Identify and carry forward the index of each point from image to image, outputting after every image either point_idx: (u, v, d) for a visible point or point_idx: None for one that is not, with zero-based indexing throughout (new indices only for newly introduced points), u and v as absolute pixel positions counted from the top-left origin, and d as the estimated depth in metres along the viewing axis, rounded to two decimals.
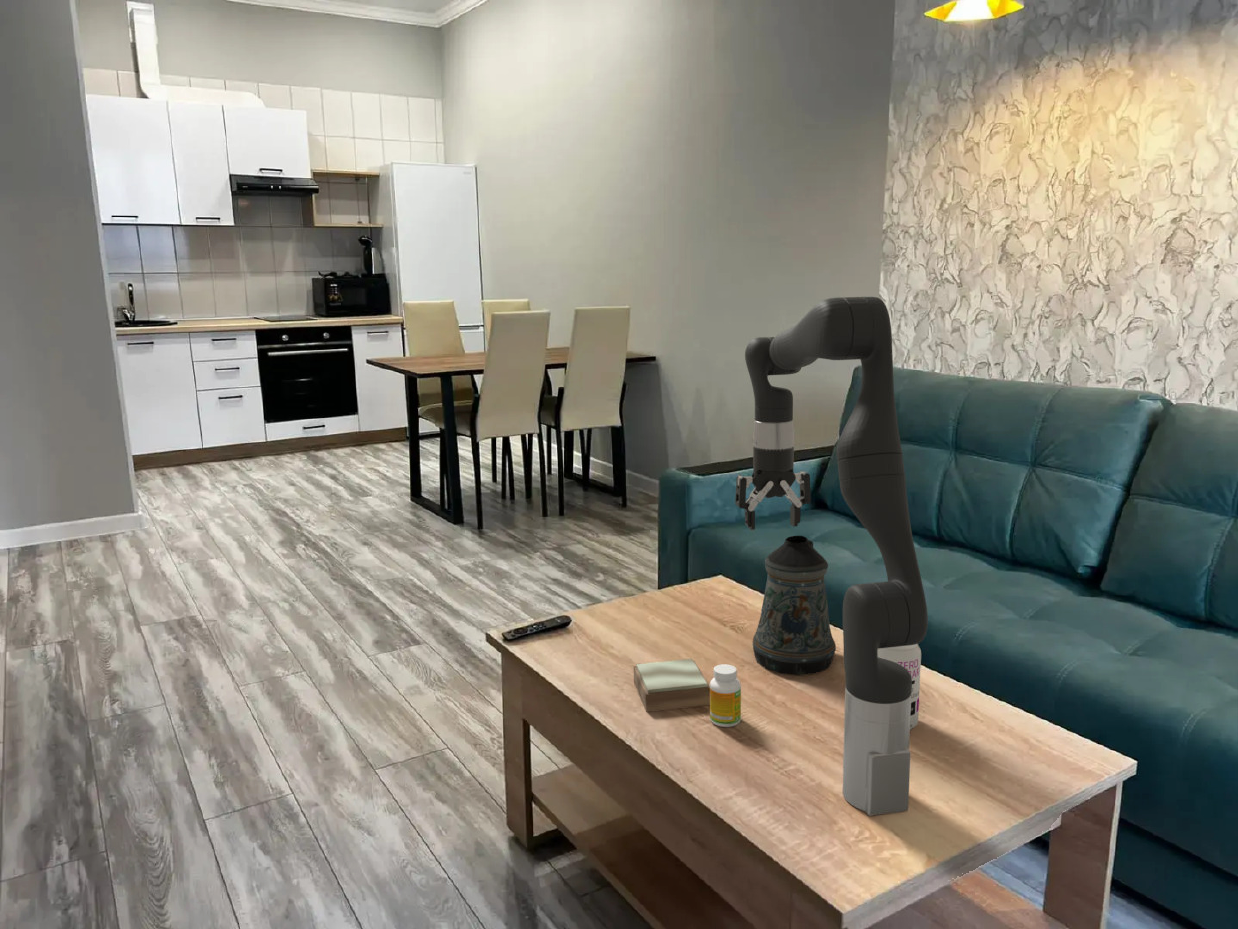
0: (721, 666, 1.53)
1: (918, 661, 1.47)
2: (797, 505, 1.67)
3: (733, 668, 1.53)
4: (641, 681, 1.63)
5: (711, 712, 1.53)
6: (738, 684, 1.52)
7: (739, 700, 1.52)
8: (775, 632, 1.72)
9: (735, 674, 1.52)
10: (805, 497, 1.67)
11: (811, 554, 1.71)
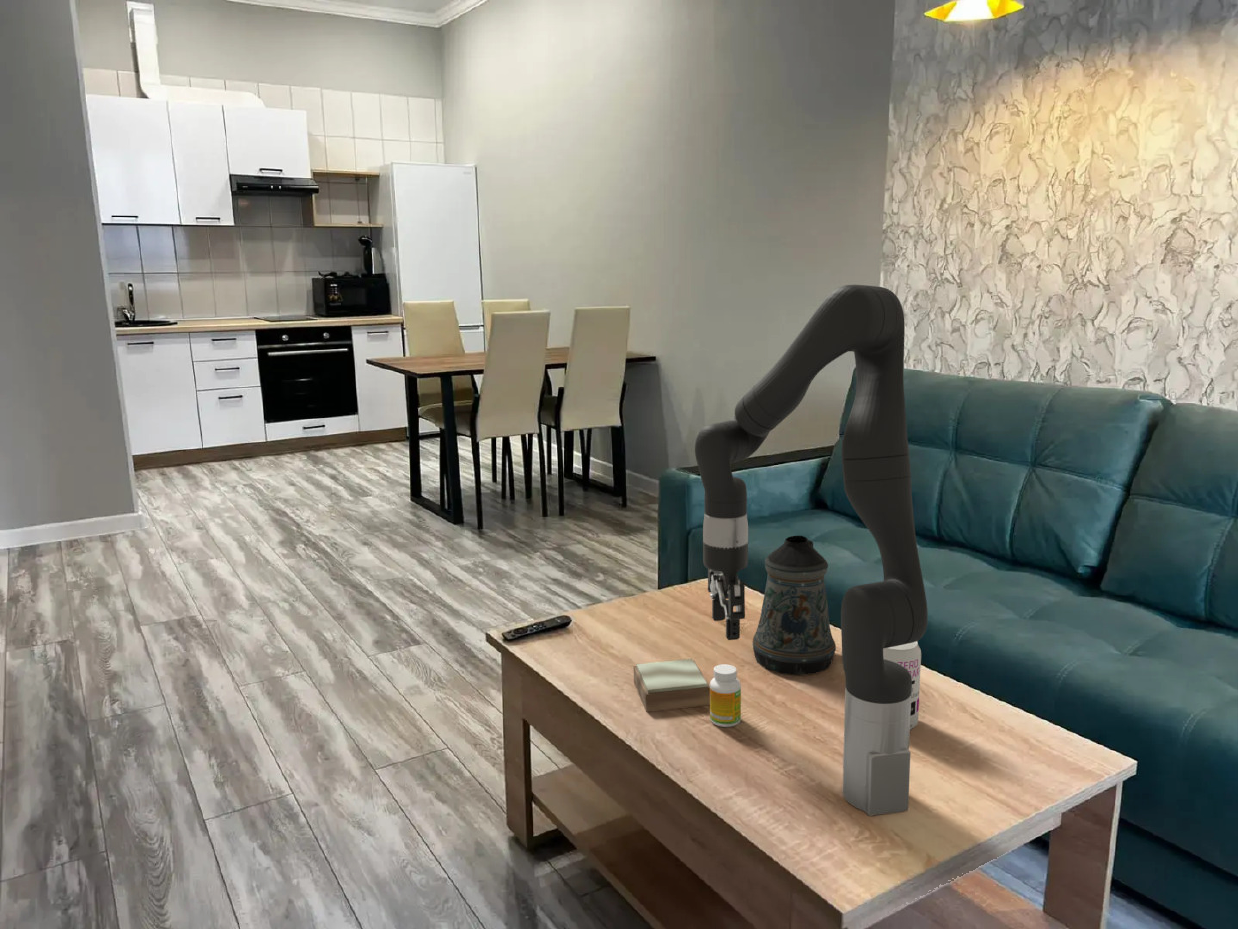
0: (721, 666, 1.53)
1: (918, 661, 1.47)
2: None
3: (733, 668, 1.53)
4: (641, 681, 1.63)
5: (711, 712, 1.53)
6: (738, 684, 1.52)
7: (739, 700, 1.52)
8: (775, 632, 1.72)
9: (735, 674, 1.52)
10: None
11: (811, 554, 1.71)
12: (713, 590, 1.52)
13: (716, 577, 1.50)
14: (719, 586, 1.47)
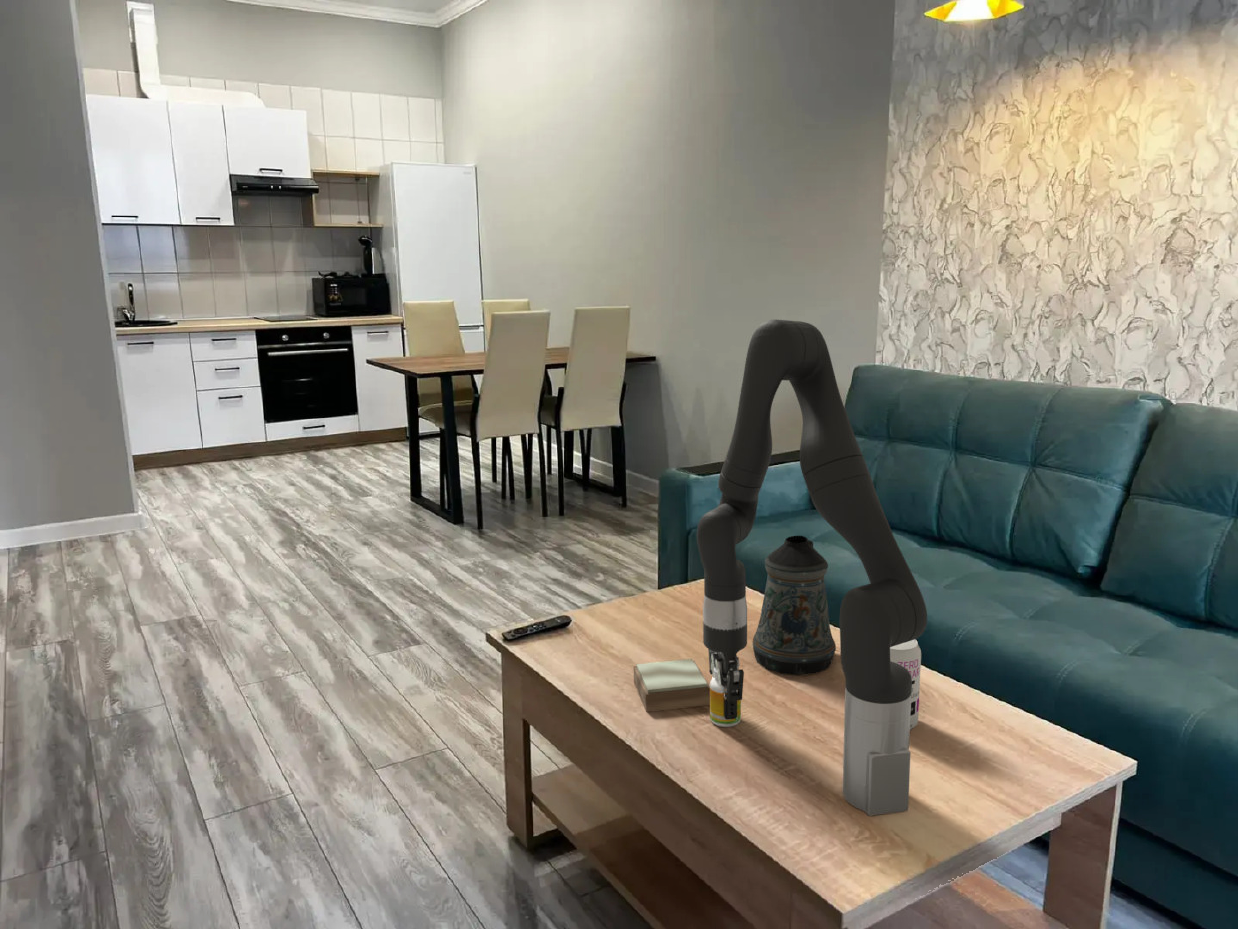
0: None
1: (918, 661, 1.47)
2: None
3: None
4: (641, 681, 1.63)
5: (711, 712, 1.53)
6: None
7: (739, 700, 1.52)
8: (775, 632, 1.72)
9: None
10: None
11: (811, 554, 1.71)
12: None
13: (716, 655, 1.53)
14: (719, 667, 1.50)
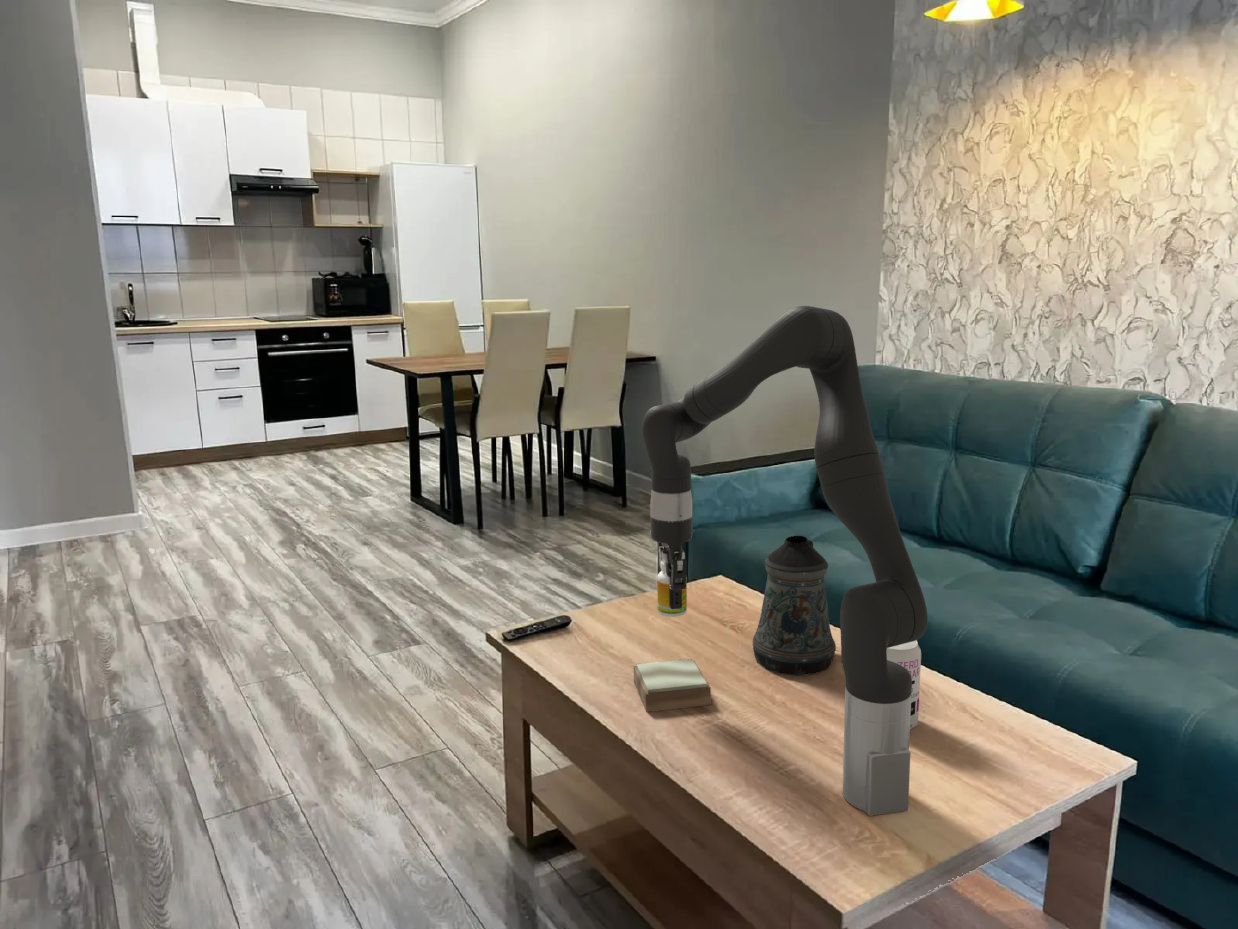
0: None
1: (918, 661, 1.47)
2: None
3: None
4: (641, 681, 1.63)
5: (658, 603, 1.60)
6: None
7: (685, 591, 1.59)
8: (775, 632, 1.72)
9: None
10: None
11: (811, 554, 1.71)
12: None
13: (663, 548, 1.60)
14: (665, 558, 1.57)
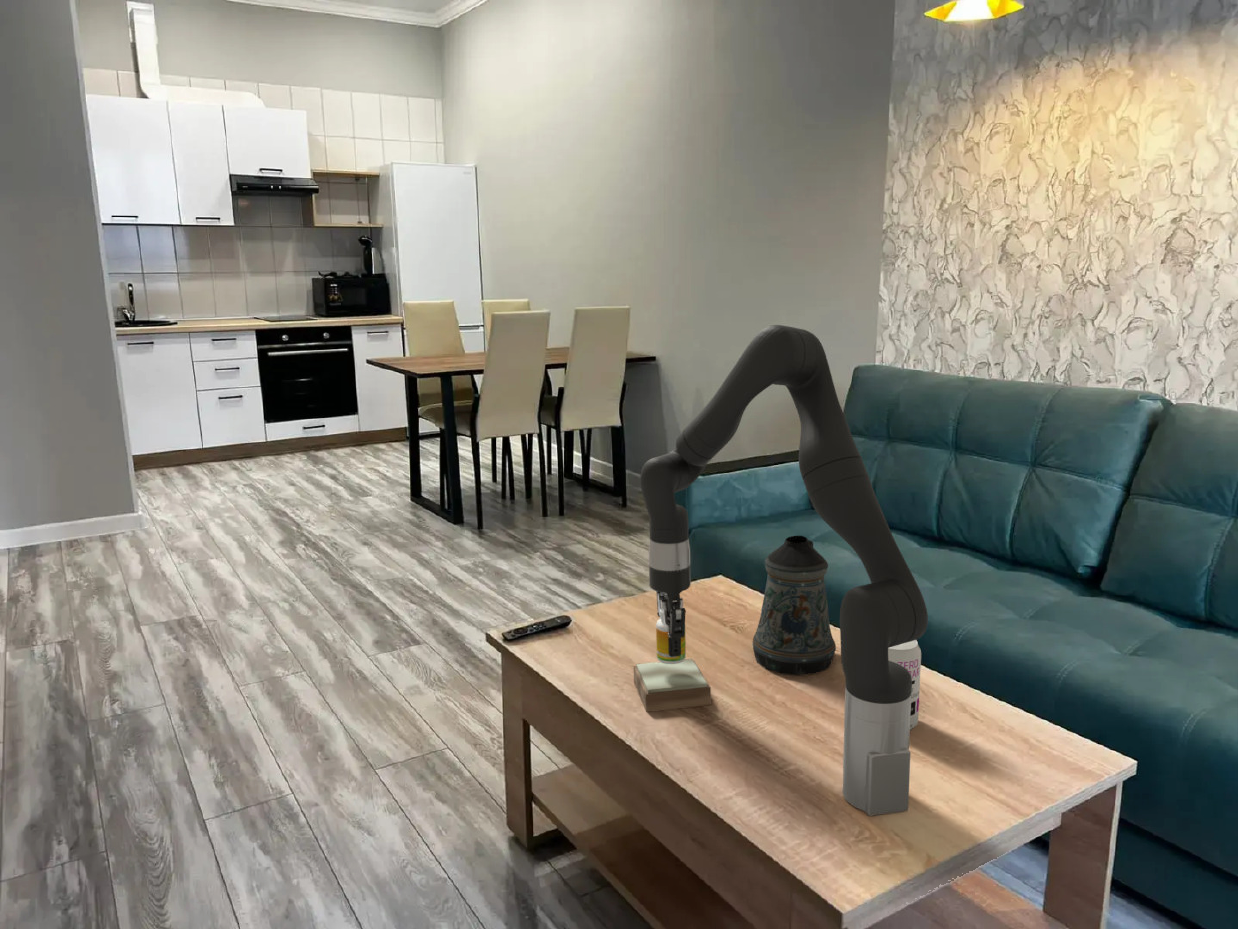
0: None
1: (918, 661, 1.47)
2: None
3: None
4: (641, 681, 1.63)
5: (657, 651, 1.62)
6: None
7: (683, 639, 1.61)
8: (775, 632, 1.72)
9: None
10: None
11: (811, 554, 1.71)
12: None
13: (661, 596, 1.62)
14: (663, 607, 1.59)
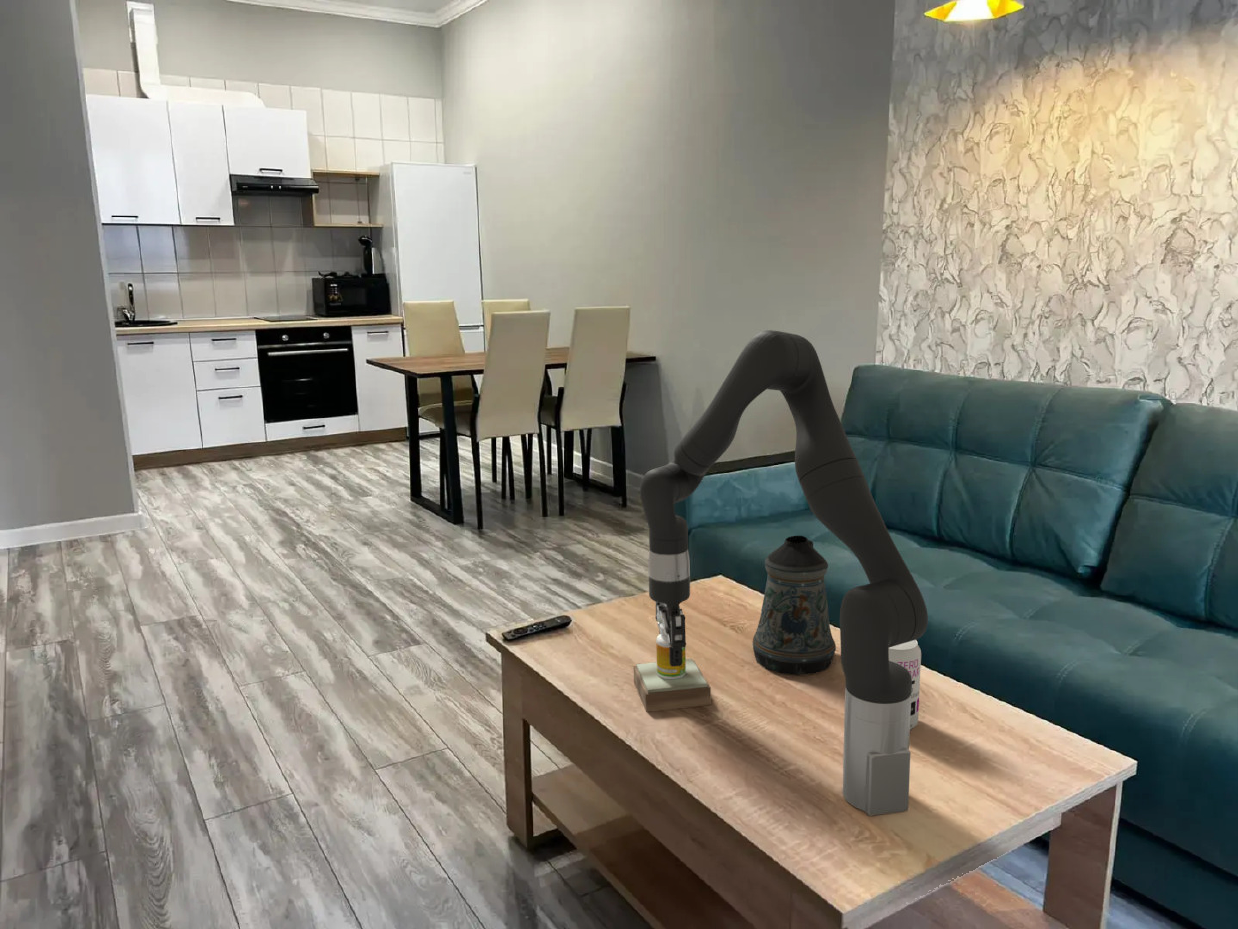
0: None
1: (918, 661, 1.47)
2: None
3: None
4: (641, 681, 1.63)
5: (657, 666, 1.63)
6: None
7: (683, 654, 1.62)
8: (775, 632, 1.72)
9: None
10: None
11: (811, 554, 1.71)
12: (659, 619, 1.64)
13: (661, 608, 1.62)
14: (663, 616, 1.59)
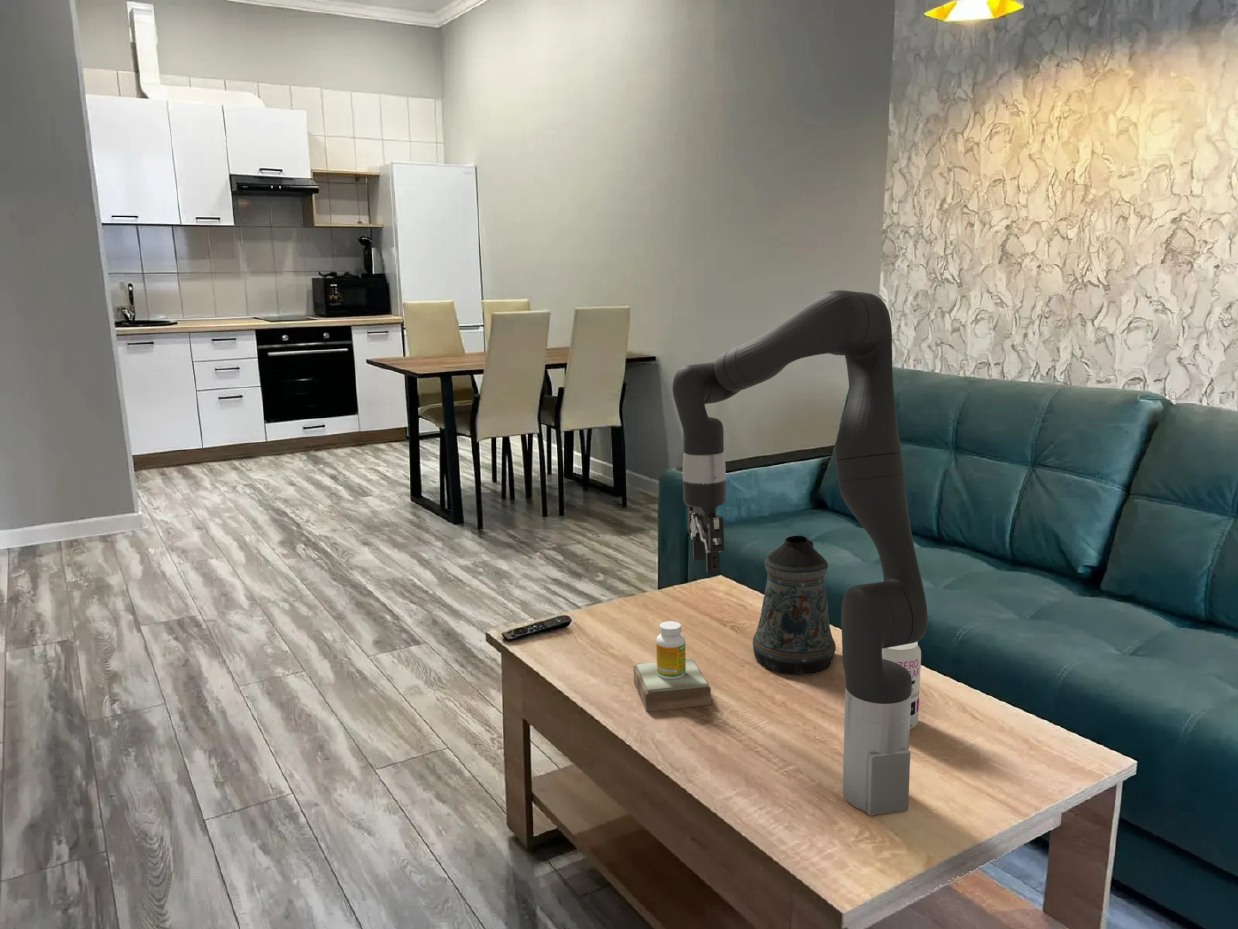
0: (667, 622, 1.63)
1: (918, 661, 1.47)
2: None
3: (678, 624, 1.62)
4: (641, 681, 1.63)
5: (657, 666, 1.63)
6: (682, 639, 1.61)
7: (683, 654, 1.62)
8: (775, 632, 1.72)
9: (679, 629, 1.61)
10: None
11: (811, 554, 1.71)
12: (693, 529, 1.58)
13: (696, 515, 1.56)
14: (699, 522, 1.53)
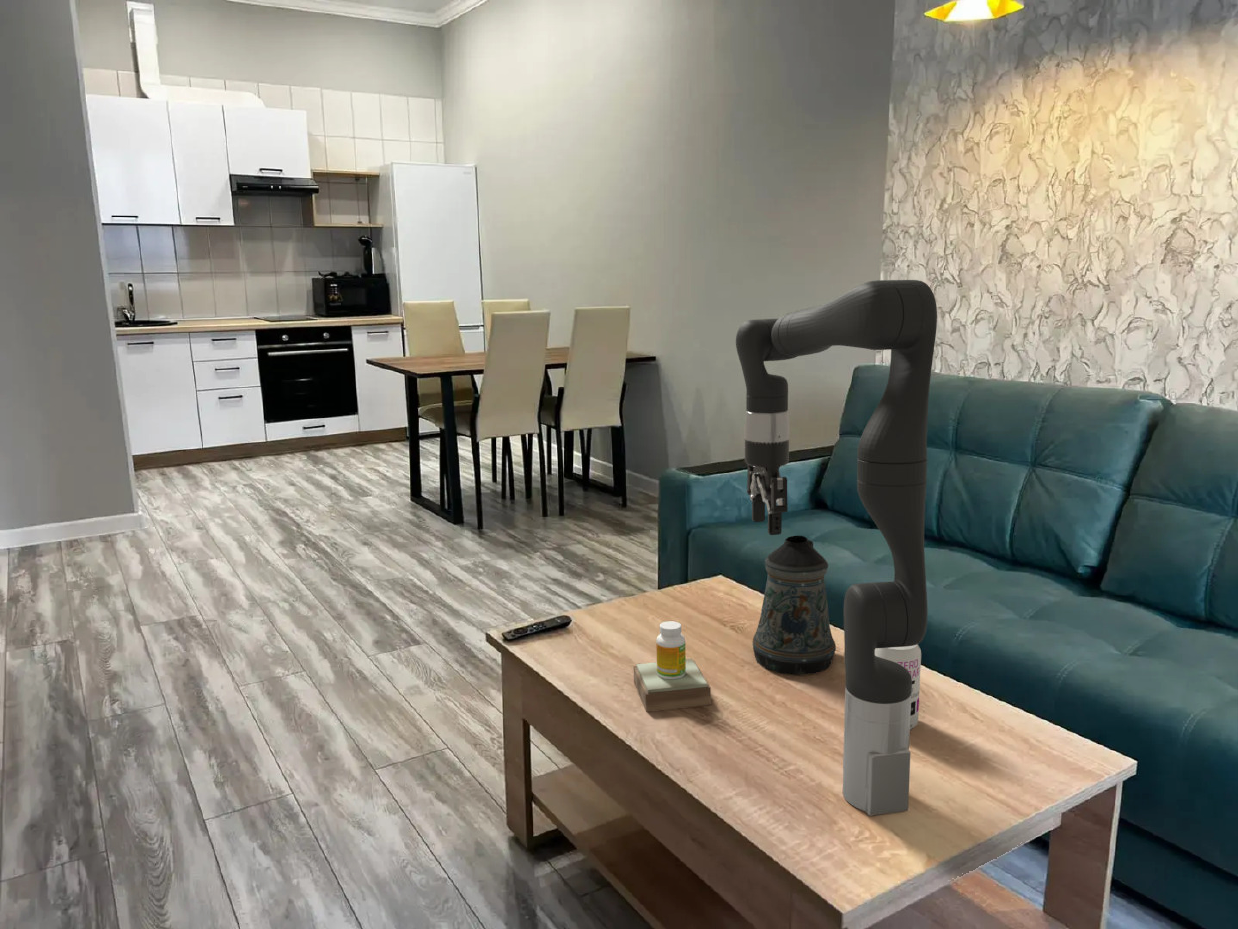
0: (667, 622, 1.63)
1: (918, 661, 1.47)
2: None
3: (678, 624, 1.62)
4: (641, 681, 1.63)
5: (657, 666, 1.63)
6: (682, 639, 1.61)
7: (683, 654, 1.62)
8: (775, 632, 1.72)
9: (679, 629, 1.61)
10: None
11: (811, 554, 1.71)
12: (753, 490, 1.55)
13: (757, 475, 1.52)
14: (761, 482, 1.50)
